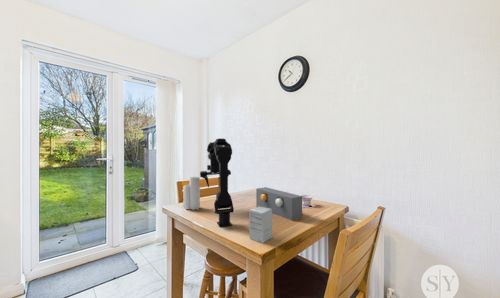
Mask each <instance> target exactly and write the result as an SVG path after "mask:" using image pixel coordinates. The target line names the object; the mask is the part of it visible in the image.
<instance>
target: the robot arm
mask: <svg viewBox="0 0 500 298" xmlns="http://www.w3.org/2000/svg"><path fill="white" fill-rule="evenodd" d="M232 148H233V147H232V145H231V144H230V143H229V142H228V141H227V139H226V138H216V139H215V140H214V141H210V142H209V143H208V144H207V149H206V152H207V153H208V155H207V158H208V160H209V161H210V164H207V165H206V168H207V169H206V170H201V171H200V172H199V177H200V178H202V179H204V180H205V182H206V185H207V188H209V187H210V183H209V177H208V176H213V175H215V176H216V175H218V180H219V181H218V183H219V184H218V189H219V191H218V192H217V193H216V195H215V200H214V202H213V203H214V213H215V214H217V215H218V221H216V224H217V226H218V227H219V228H222V227H230V226H232V225H233V223H232V222H231V213H232V214H233V213H234V211H235V209H234V204H233V199H232V196H231V195H230V193H229V177H230V175H231V174H232V172H231V170H230V169H229V163H230V161H231V159H232V156H233V149H232Z"/></svg>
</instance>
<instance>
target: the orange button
mask: <svg viewBox="0 0 500 298" xmlns="http://www.w3.org/2000/svg"><path fill="white" fill-rule="evenodd" d="M260 198H261V200H262V201H266V200H267V195H266V194H261V196H260Z"/></svg>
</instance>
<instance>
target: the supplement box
mask: <svg viewBox="0 0 500 298" xmlns="http://www.w3.org/2000/svg"><path fill="white" fill-rule="evenodd" d="M248 211H249V213H248V214H249V217H248V219H249V221H248V222H249V225H248V226H249V227H248V228H249V231H248V232H249V239H250V240H251V241H256V242H258V243H261V244H264V243H265V242H267V241H269V240H270V239H272V238H273V213H272V209H270V208H265V207H260V206H258V207H256V206H255V207H254V208H251V209H249V210H248Z"/></svg>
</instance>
